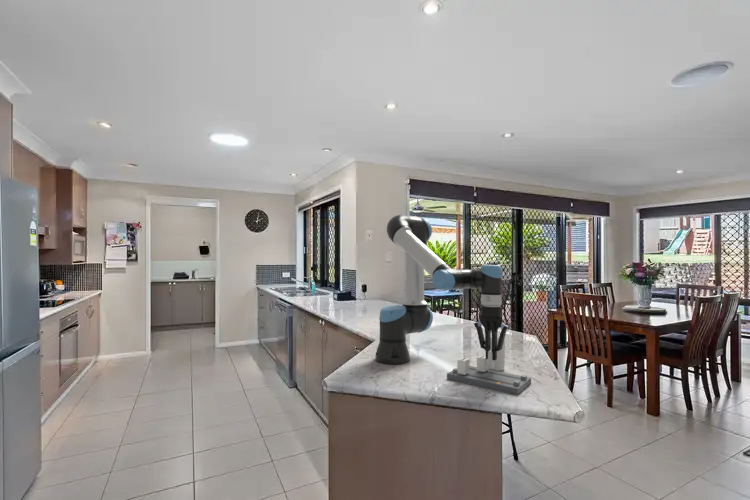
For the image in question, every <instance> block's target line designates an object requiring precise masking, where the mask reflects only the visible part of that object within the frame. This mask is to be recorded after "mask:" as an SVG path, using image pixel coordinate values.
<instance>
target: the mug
mask: <svg viewBox="0 0 750 500" xmlns="http://www.w3.org/2000/svg"><path fill="white" fill-rule="evenodd" d="M498 341H499V337H497V345H498ZM490 350H492V337H491V349H490ZM505 355H506V339H504V343H503V347H502V349H501V350H500V351H497V359H496V360H494V368H493V369H490V370H494V371H499V372H503V371H504V370H505V362H506V361H505V360H506V359H505V358H506V357H505Z"/></svg>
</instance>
